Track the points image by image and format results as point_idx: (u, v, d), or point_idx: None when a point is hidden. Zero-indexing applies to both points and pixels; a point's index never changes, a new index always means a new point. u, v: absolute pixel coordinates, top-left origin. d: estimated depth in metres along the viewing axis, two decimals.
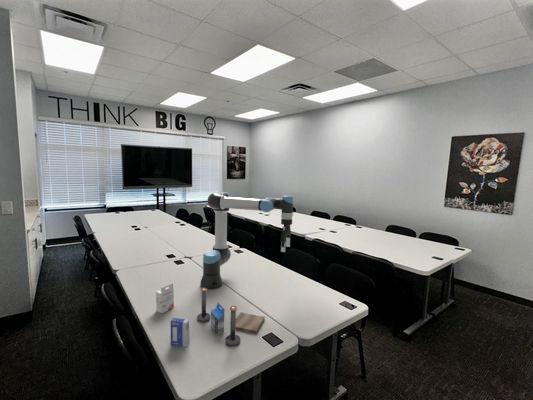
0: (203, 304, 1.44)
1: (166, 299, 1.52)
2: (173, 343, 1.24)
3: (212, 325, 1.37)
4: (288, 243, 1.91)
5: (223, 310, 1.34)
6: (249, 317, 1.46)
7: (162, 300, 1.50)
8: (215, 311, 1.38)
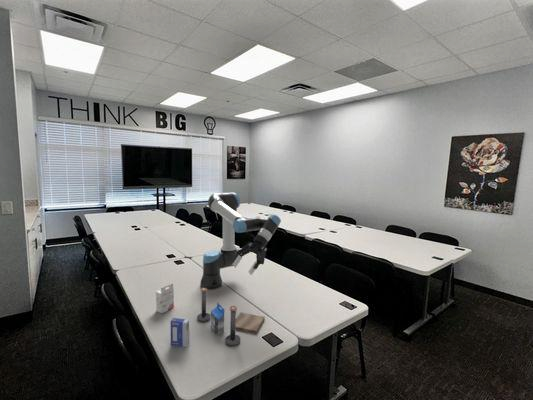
0: (203, 304, 1.44)
1: (166, 299, 1.52)
2: (173, 343, 1.24)
3: (212, 325, 1.37)
4: None
5: (223, 310, 1.34)
6: (249, 317, 1.46)
7: (162, 300, 1.50)
8: (215, 311, 1.38)
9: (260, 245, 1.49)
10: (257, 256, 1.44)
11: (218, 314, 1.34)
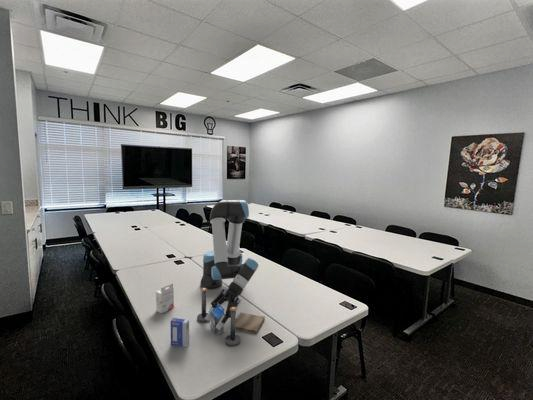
0: (203, 304, 1.44)
1: (166, 299, 1.52)
2: (173, 343, 1.24)
3: (212, 325, 1.37)
4: None
5: (223, 310, 1.34)
6: (249, 317, 1.46)
7: (162, 300, 1.50)
8: (214, 310, 1.38)
9: (234, 294, 1.39)
10: (227, 308, 1.35)
11: (218, 314, 1.34)
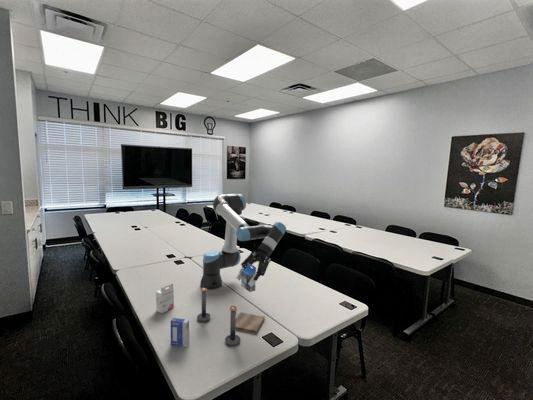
0: (203, 304, 1.44)
1: (166, 299, 1.52)
2: (173, 343, 1.24)
3: (243, 284, 1.41)
4: None
5: (254, 268, 1.38)
6: (249, 317, 1.46)
7: (162, 300, 1.50)
8: (245, 270, 1.41)
9: (265, 254, 1.42)
10: (258, 267, 1.38)
11: (249, 272, 1.38)
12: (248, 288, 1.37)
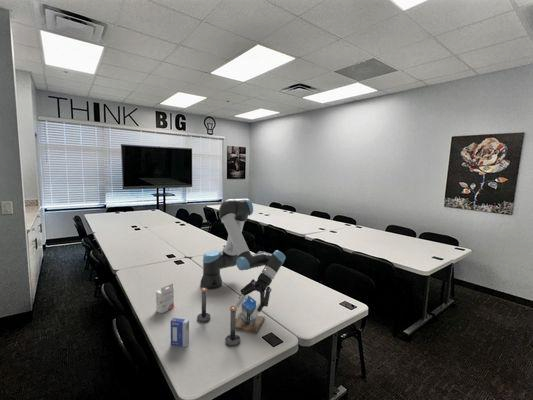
0: (203, 304, 1.44)
1: (166, 299, 1.52)
2: (173, 343, 1.24)
3: (243, 317, 1.43)
4: None
5: (254, 302, 1.40)
6: None
7: (162, 300, 1.50)
8: (246, 303, 1.43)
9: (264, 285, 1.44)
10: (261, 297, 1.40)
11: (250, 306, 1.40)
12: (248, 322, 1.39)
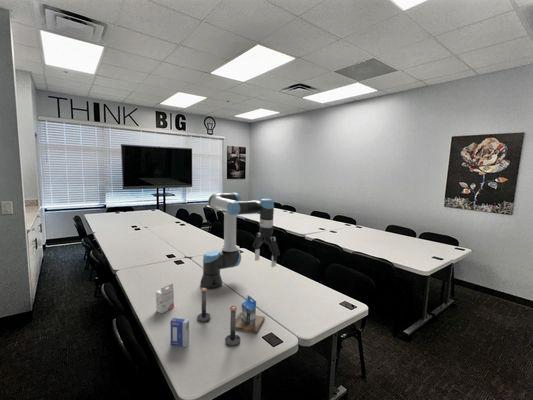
0: (203, 304, 1.44)
1: (166, 299, 1.52)
2: (173, 343, 1.24)
3: (243, 317, 1.43)
4: None
5: (254, 302, 1.40)
6: None
7: (162, 300, 1.50)
8: (246, 303, 1.43)
9: (268, 236, 1.49)
10: (271, 249, 1.47)
11: (250, 306, 1.40)
12: (248, 322, 1.39)
